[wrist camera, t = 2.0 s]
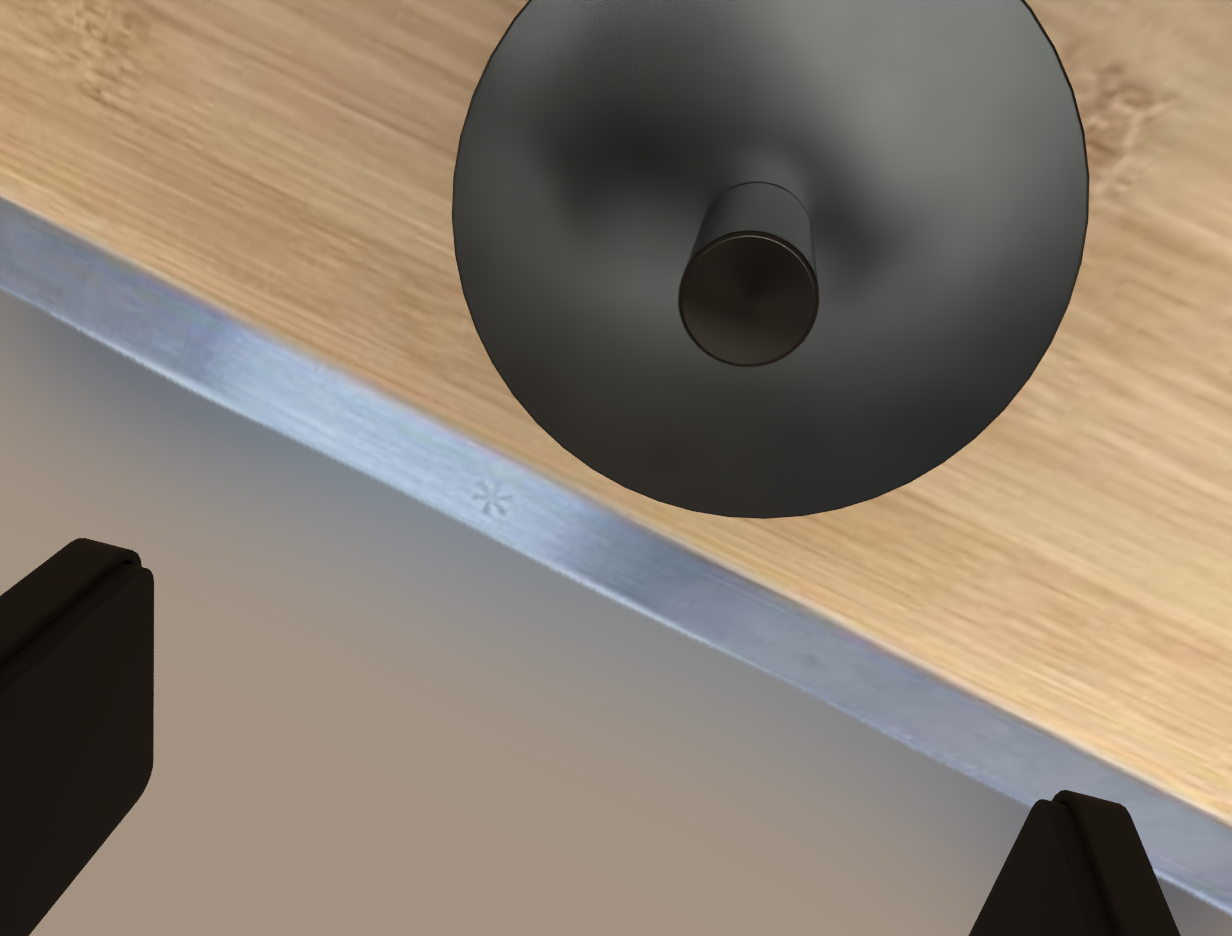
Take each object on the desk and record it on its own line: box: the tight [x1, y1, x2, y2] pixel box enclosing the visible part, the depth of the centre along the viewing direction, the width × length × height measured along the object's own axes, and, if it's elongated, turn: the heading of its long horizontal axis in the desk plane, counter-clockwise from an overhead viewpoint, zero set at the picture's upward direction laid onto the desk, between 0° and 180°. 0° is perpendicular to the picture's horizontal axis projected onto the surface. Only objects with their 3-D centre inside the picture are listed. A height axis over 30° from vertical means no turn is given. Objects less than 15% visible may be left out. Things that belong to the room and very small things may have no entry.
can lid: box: [452, 0, 1089, 519], centre depth 21 cm, size 13×13×6 cm
